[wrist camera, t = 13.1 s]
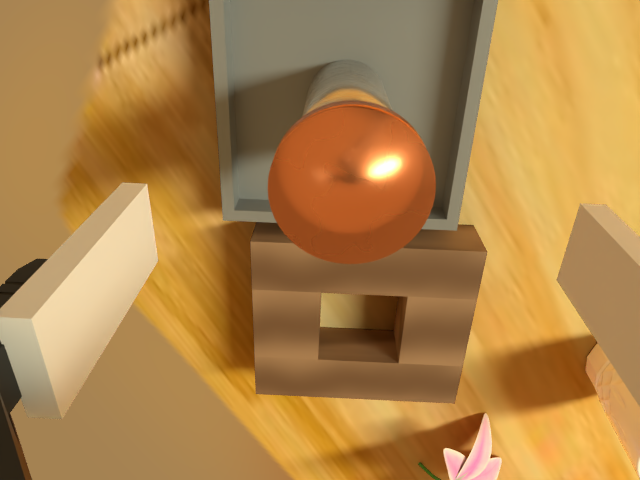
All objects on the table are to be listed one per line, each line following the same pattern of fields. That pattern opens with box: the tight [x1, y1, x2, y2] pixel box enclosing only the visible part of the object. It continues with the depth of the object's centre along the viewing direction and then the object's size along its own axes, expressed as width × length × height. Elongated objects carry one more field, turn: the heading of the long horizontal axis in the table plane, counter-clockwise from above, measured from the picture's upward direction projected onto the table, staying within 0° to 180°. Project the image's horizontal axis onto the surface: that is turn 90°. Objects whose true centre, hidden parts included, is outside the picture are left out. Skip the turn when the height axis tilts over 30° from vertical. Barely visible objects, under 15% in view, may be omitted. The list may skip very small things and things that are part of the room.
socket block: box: [250, 222, 487, 404], centre depth 40 cm, size 14×16×4 cm
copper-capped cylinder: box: [268, 60, 436, 264], centre depth 26 cm, size 6×6×15 cm
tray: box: [209, 0, 498, 231], centre depth 32 cm, size 16×16×3 cm
